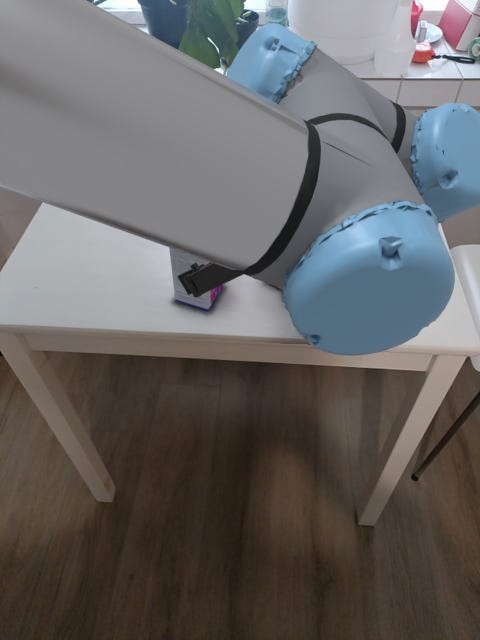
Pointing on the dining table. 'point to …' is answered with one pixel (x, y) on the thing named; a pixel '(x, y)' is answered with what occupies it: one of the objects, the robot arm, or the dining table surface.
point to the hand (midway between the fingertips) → (224, 259)
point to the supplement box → (179, 266)
